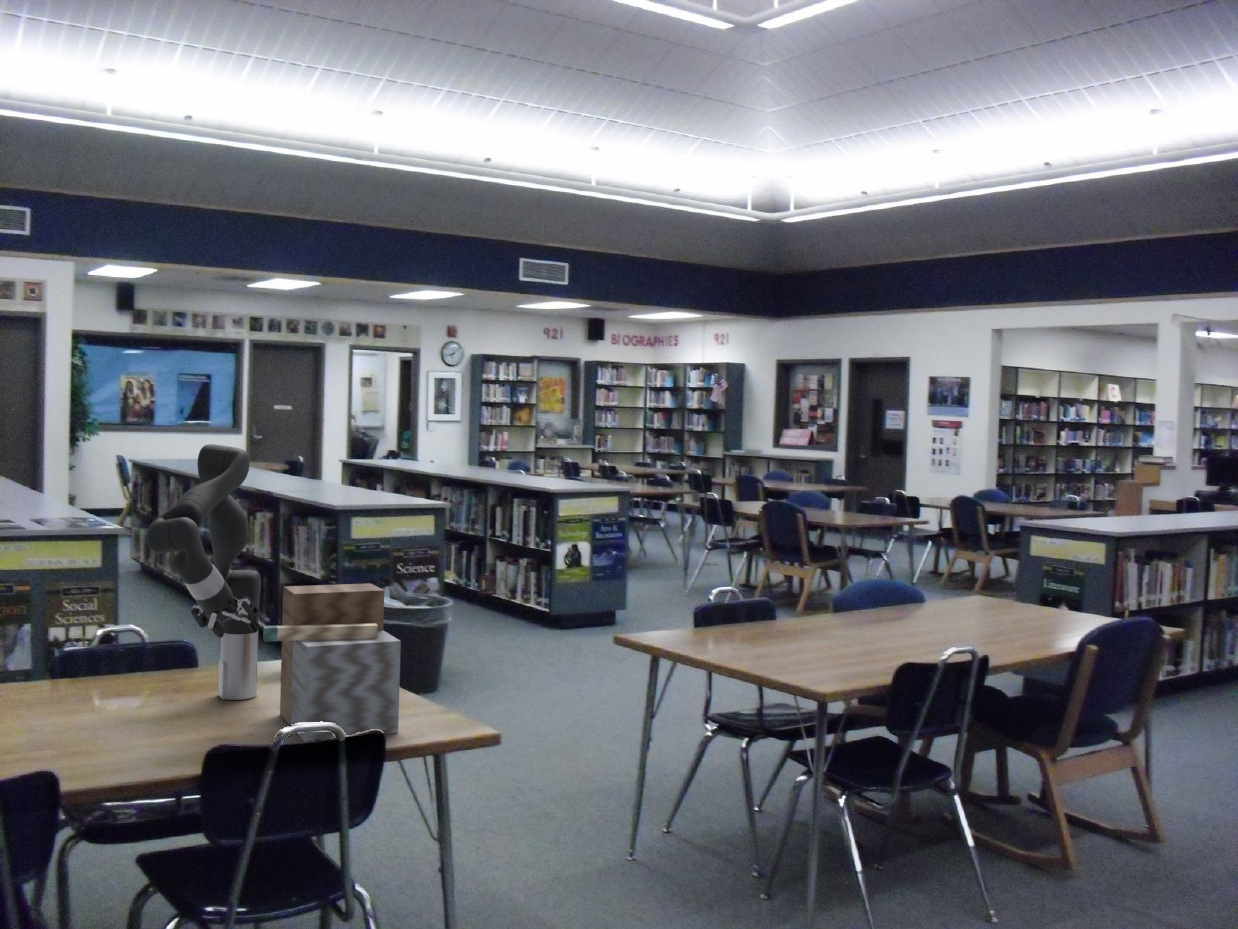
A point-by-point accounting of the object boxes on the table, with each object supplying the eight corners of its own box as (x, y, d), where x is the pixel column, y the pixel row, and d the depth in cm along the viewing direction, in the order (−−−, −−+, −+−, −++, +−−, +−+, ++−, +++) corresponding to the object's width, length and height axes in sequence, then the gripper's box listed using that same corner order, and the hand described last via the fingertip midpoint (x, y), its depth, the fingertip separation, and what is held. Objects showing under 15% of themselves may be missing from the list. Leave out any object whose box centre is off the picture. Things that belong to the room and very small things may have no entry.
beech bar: (263, 641, 266) (264, 628, 266) (263, 639, 269) (263, 625, 268) (377, 638, 275) (377, 625, 274) (375, 635, 277) (375, 623, 277)
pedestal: (304, 742, 262) (308, 603, 261) (279, 714, 285) (283, 586, 284) (398, 732, 273) (402, 599, 272) (366, 706, 296) (370, 583, 294)
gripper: (241, 569, 258) (271, 616, 269) (183, 578, 261) (215, 624, 271) (231, 594, 253) (262, 641, 263) (173, 602, 255) (206, 648, 265)
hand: (238, 632), depth 267 cm, fingers open, 8 cm apart
